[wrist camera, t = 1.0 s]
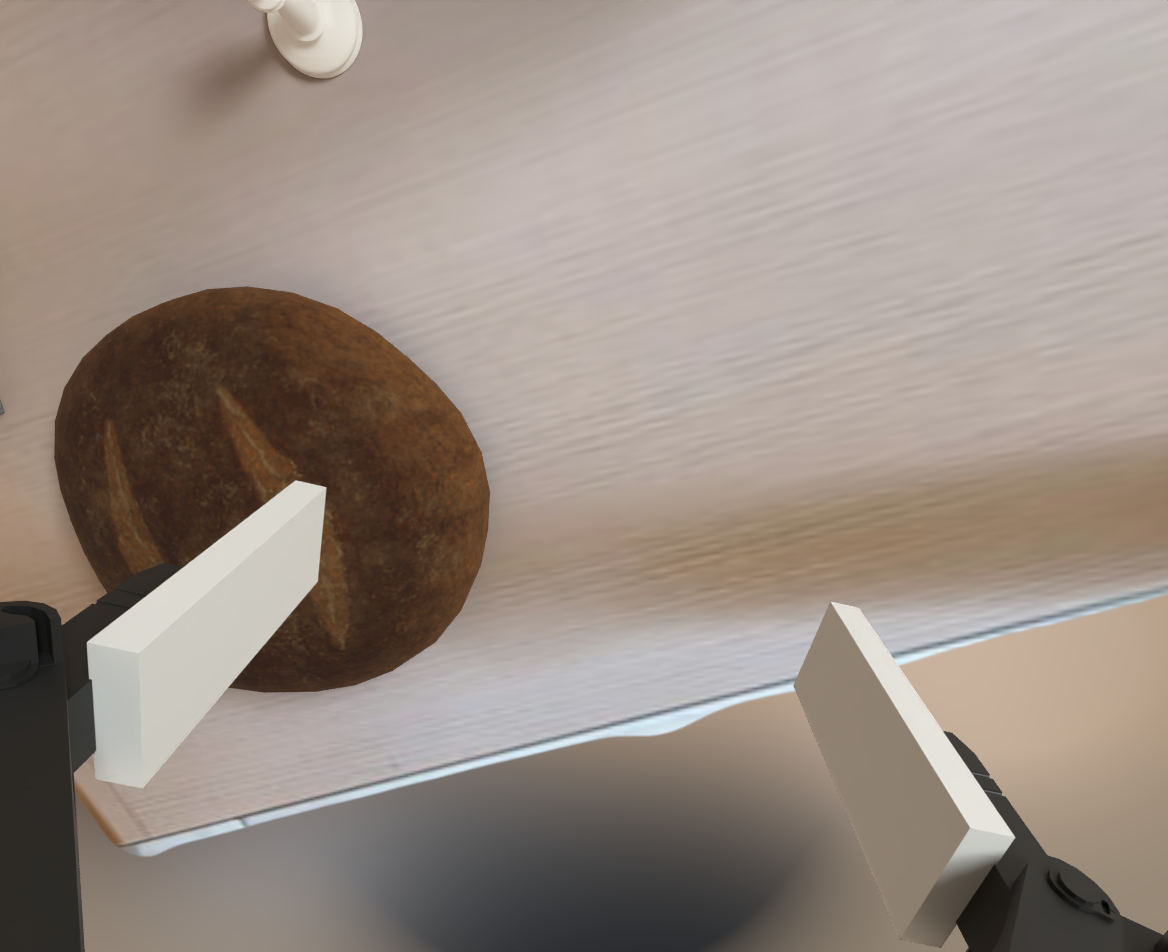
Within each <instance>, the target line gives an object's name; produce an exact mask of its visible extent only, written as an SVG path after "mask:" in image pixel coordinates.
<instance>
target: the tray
mask: <svg viewBox="0 0 1168 952" xmlns="http://www.w3.org/2000/svg"><path fill="white" fill-rule="evenodd" d="M2 413H4V410H3V407H2V404H1V401H0V414H2Z"/></svg>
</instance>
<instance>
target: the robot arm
mask: <svg viewBox="0 0 1168 952" xmlns="http://www.w3.org/2000/svg"><path fill="white" fill-rule="evenodd" d="M325 497H326V487H323V486H318V485H314V484H310V483H305V482H301V481H294V482H293V483H292V484H290V485H289V486H288V487H286V488H285V489H284V490H283V491H281V492H280V493H279V494H277V495H276V496H275V497H274V498H272V499H271V500H270V501H268V502H267V503H266V504H265V505H263V506H262V507H261V508H259V509H258V510H257V511H255V512H254V513H253V514H252V515H250V516H249V517H248V518H246V519H245V520H244V521H243V522H241V523H240V524H239V525H237V526H236V527H235V528H234V529H232V530H231V531H230V532H228V533H227V534H226V535H225V536H223V537H222V538H221V539H219V540H218V541H217V542H215V543H214V544H213V545H212V546H210V547H209V548H208V549H206V550H205V551H204V552H203V553H201V554H200V555H199V556H197V557H196V558H195V559H194V560H192V561H191V562H190V563H188V564H187V565H186V566H185V567H180V566H176V565H171V564H166V563H162V564H160V565H157V566H154V567H151V568H149V569H146V570H143V571H141V572H138V573H135V574H134V575H133V576H131V577H130V578H128V579H127V580H125V581H124V582H123V583H121V584H120V585H118V586H117V587H116V588H114V591H113V592H111V591H110V592H109V593H107V594H106V595H104V596H103V597H101V598H100V599H99V600H97V603H96V604H92V605H90V606H89V607H87V608H86V609H85V610H83V611H82V612H80V613H79V614H78V615H76V616H75V617H73V618H72V619H70V620H69V621H68V622H66V623H65V624H63V625H62V626H61V617H60V616H59V614H58V612H57V610H56V609H54V608H52V607H50V606H48V605H46V604H44V603H38V602H30V601H12V602H0V952H85V949H84V935H83V934H84V933H83V917H82V900H81V885H80V868H79V852H78V836H77V819H76V803H75V787H74V774H73V773H74V772H75V771H76V770H77V769H78V768H79V767H80V766H81V765H82V764H83V763H84V762H85V761H86V760H87V759H88V758H89V757H90V756H91V755H92V754H93V753H94V764H95V779H97V780H102V781H107V782H112V783H117V784H122V785H127V786H132V787H137V788H142V789H143V788H144V787H145V785H146V784H147V783H148V782H149V781H150V779H151V778H152V777H153V776H154V775H155V773H156V772H157V771H158V770H159V769H160V768H161V766H162V765H163V764H164V763H165V762H166V760H167V759H168V758H169V757H170V756H171V755H172V753H173V752H174V751H175V750H176V749H177V747H178V746H179V745H180V744H181V743H182V742H183V740H184V739H185V738H186V737H187V736H188V734H189V733H190V732H191V731H192V730H193V729H194V727H195V726H196V725H197V724H198V723H199V721H200V720H201V719H202V718H203V717H204V716H205V714H206V713H207V712H208V711H209V710H210V708H211V707H212V706H213V705H214V704H215V702H216V701H217V700H218V699H219V698H220V697H221V695H222V694H223V693H224V692H225V691H226V689H227V688H228V687H229V686H230V685H231V684H232V682H233V681H234V680H235V679H236V678H237V676H238V675H239V674H240V673H241V672H242V671H243V669H244V668H245V667H246V666H247V665H248V663H249V662H250V661H251V660H252V659H253V658H254V656H255V655H256V654H257V653H258V652H259V650H260V649H261V648H262V647H263V646H264V644H265V643H266V642H267V641H268V640H269V639H270V637H271V636H272V635H273V634H274V633H275V631H276V630H277V629H278V628H279V627H280V626H281V624H282V623H283V622H284V621H285V620H286V618H287V617H288V616H289V615H290V614H291V613H292V611H293V610H294V609H295V608H296V607H297V605H298V604H299V603H300V602H301V601H302V600H303V598H304V597H305V596H306V595H307V594H308V592H309V591H310V590H311V589H312V588H313V586H314V585H315V584H316V583H317V582H318V573H319V562H320V552H321V541H322V530H323V519H324V508H325ZM794 688H795V690H796V693H797V695H798V697H799V700H800V702H801V705H802V707H803V709H804V712H805V714H806V717H807V719H808V722H809V724H810V726H811V729H812V731H813V733H814V736H815V738H816V741H817V743H818V745H819V748H820V750H821V753H822V755H823V757H824V760H825V762H826V765H827V767H828V769H829V772H830V774H831V776H832V779H833V781H834V784H835V786H836V788H837V791H838V793H839V796H840V798H841V800H842V803H843V805H844V808H845V810H846V812H847V815H848V817H849V819H850V822H851V824H852V827H853V829H854V832H855V834H856V836H857V839H858V841H859V843H860V846H861V848H862V851H863V853H864V855H865V858H866V860H867V863H868V865H869V867H870V870H871V872H872V874H873V877H874V879H875V882H876V884H877V887H878V889H879V891H880V894H881V896H882V899H883V901H884V903H885V905H886V908H887V910H888V913H889V915H890V918H891V920H892V923H893V925H894V927H895V930H896V932H897V934H898V937H899V939H900V940H904V941H909V942H914V943H919V944H924V945H929V946H934V947H939V948H941V947H942V946H943V944H944V942H945V941H946V940H947V938H948V937H949V935H950V934H951V932H952V931H953V929H954V928H955V926H956V925H958V927H959V929H960V931H961V933H962V935H963V937H964V939H965V941H966V943H967V945H968V946H969V948H968V949H967V951H966V952H1168V931H1167V932H1166V933H1165V934H1164V935H1162V934H1160V933H1157V932H1155V931H1153V930H1151V929H1149V928H1146V927H1144V926H1142V925H1140V924H1138V923H1136V922H1134V921H1131V920H1129V919H1127V918H1125V917H1123V916H1121V915H1120V913H1119V911H1118V910H1117V908H1116V907H1115V905H1114V904H1113V902H1112V901H1111V899H1110V898H1109V897H1108V895H1107V894H1106V893H1105V892H1103V890H1102V889H1101V888H1100V887H1099V886H1098V885H1097V884H1096V883H1095V882H1094V881H1092V880H1091V879H1090V878H1089V877H1087V876H1086V875H1085V874H1083V873H1082V872H1081V871H1079V870H1078V869H1077V868H1075V867H1073V866H1071V865H1069V864H1067V863H1066V862H1064V861H1062V860H1060V859H1057V858H1054V857H1051V856H1047V854H1046V853H1045V852H1044V850H1043V849H1042V847H1041V846H1040V845H1039V843H1038V842H1037V840H1036V839H1035V837H1034V836H1033V835H1032V833H1031V832H1030V830H1029V829H1028V828H1027V826H1026V825H1025V824H1024V822H1023V821H1022V819H1021V818H1020V816H1019V815H1018V814H1017V812H1016V811H1015V810H1014V808H1013V807H1012V805H1011V804H1010V802H1009V801H1008V800H1007V798H1006V797H1004V796H1002V791H1001V790H1000V789H999V787H998V786H997V785H996V783H995V781H994V780H993V779H990V778H989V775H990V774H989V773H988V772H987V771H986V769H985V767H984V766H983V765H982V763H981V762H980V761H979V759H978V758H977V756H976V755H975V754H974V753H973V752H972V751H971V750H970V749H969V748H968V747H967V746H966V745H965V744H964V743H963V742H961V741H960V740H959V739H958V738H957V737H956V736H955V735H954V734H953V733H950V732H946V731H942V729H941V728H940V726H939V725H938V723H937V722H936V720H935V719H934V718H933V716H932V715H931V713H930V712H929V710H928V709H927V707H926V706H925V704H924V703H923V701H922V700H921V698H920V697H919V696H918V694H917V693H916V691H915V690H914V689H913V687H912V685H911V684H910V683H909V681H908V680H907V678H906V677H905V675H904V674H903V672H902V671H901V669H900V668H899V666H898V665H897V663H896V662H895V660H894V659H893V657H892V656H891V655H890V653H889V652H888V650H887V649H886V647H885V646H884V644H883V643H882V641H881V640H880V638H879V637H878V636H877V634H876V633H875V631H874V630H873V628H872V627H871V625H870V624H869V622H868V621H867V619H866V618H865V616H864V615H863V614H862V612H861V611H860V609H859V608H857V607H852V606H848V605H843V604H839V603H835V602H830V604H829V606H828V609H827V611H826V613H825V615H824V618H823V620H822V622H821V624H820V627H819V629H818V631H817V633H816V636H815V638H814V640H813V643H812V645H811V647H810V649H809V652H808V654H807V656H806V658H805V661H804V663H803V665H802V668H801V670H800V672H799V674H798V677H797V679H796V681H795V683H794Z"/></svg>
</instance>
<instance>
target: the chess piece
mask: <svg viewBox="0 0 1168 952" xmlns="http://www.w3.org/2000/svg"><path fill="white" fill-rule="evenodd" d="M247 1H248V2H249V3H250V4H251V5H252V6H253V7H254V8H255V9H257V10H258V11H261V12H264V13H267V20H268V26H269V30H270V33H271V36H272V39H273V41H274V43H275V45H276V47H277V48H278V50H279V51H280V53H281V54H282V55H283V57H284V58H285V59H286V60H287V61H288V62H289V63H290V64H291V65H292V66H293V67H295V68H296V69H297V70H299V71H300V72H302V73H304V74H306V75H308V76H311V77H315V78H331V77H335V76H337V75H340V74H341V73H343V72H344V71H346V70H347V69H348V68H349V67H350V66H351V65H352V64H353V62H354V61H355V59H356V57H357V55H358V53H359V50H360V47H361V43H362V20H361V16H360V12H359V9H358V6H357V4H356V2H355V0H247Z"/></svg>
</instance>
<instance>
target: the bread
mask: <svg viewBox="0 0 1168 952" xmlns="http://www.w3.org/2000/svg"><path fill="white" fill-rule="evenodd" d="M54 458H55V464H56V469H57V474H58V479H59V484H60V489H61V493H62V496H63V499H64V502H65V505H66V508H67V510H68V513H69V516H70V519H71V522H72V524H73V527H74V529H75V532H76V534H77V536H78V539H79V541H80V544H81V546H82V548H83V551H84V553H85V555H86V556H87V558H88V560H89V562H90V564H91V566H92V568H93V569H94V571H95V573H96V575H97V577H98V579H99V580H100V582H101V583H102V585H103V586H104V588H105V589H106V591H107V592H108V593H109V592H110V591H111V592H113V591H114V588H116V587H117V586H118V585H120V584H121V583H123V582H124V581H125V580H127V579H128V578H130V577H131V576H133V575H134V574H135V573H138V572H141V571H143V570H146V569H149V568H151V567H154V566H157V565H160V564H162V563H166V564H171V565H176V566H180V567H185V566H186V565H187V564H188V563H190V562H191V561H192V560H194V559H195V558H196V557H197V556H199V555H200V554H201V553H203V552H204V551H205V550H206V549H208V548H209V547H210V546H212V545H213V544H214V543H215V542H217V541H218V540H219V539H221V538H222V537H223V536H225V535H226V534H227V533H228V532H230V531H231V530H232V529H234V528H235V527H236V526H237V525H239V524H240V523H241V522H243V521H244V520H245V519H246V518H248V517H249V516H250V515H252V514H253V513H254V512H255V511H257V510H258V509H259V508H261V507H262V506H263V505H265V504H266V503H267V502H268V501H270V500H271V499H272V498H274V497H275V496H276V495H277V494H279V493H280V492H281V491H283V490H284V489H285V488H286V487H288V486H289V485H290V484H292V483H293V482H294V481H301V482H305V483H310V484H314V485H318V486H323V487H326V497H325V508H324V519H323V530H322V541H321V552H320V562H319V573H318V582H317V583H316V584H315V585H314V586H313V588H312V589H311V590H310V591H309V592H308V594H307V595H306V596H305V597H304V598H303V600H302V601H301V602H300V603H299V604H298V605H297V607H296V608H295V609H294V610H293V611H292V613H291V614H290V615H289V616H288V617H287V618H286V620H285V621H284V622H283V623H282V624H281V626H280V627H279V628H278V629H277V630H276V631H275V633H274V634H273V635H272V636H271V637H270V639H269V640H268V641H267V642H266V643H265V644H264V646H263V647H262V648H261V649H260V650H259V652H258V653H257V654H256V655H255V656H254V658H253V659H252V660H251V661H250V662H249V663H248V665H247V666H246V667H245V668H244V669H243V671H242V672H241V673H240V674H239V675H238V676H237V678H236V679H235V680H234V681H233V682H232V684H231V685H230V686H229V687H228V688H236V689H243V690H250V691H258V692H316V691H323V690H329V689H335V688H341V687H347V686H353V685H357V684H359V683H362V682H364V681H367V680H370V679H372V678H375V677H378V676H380V675H383V674H385V673H388V672H391V671H393V670H394V669H396V668H397V667H399V666H400V665H402V664H403V663H405V662H406V661H408V660H409V659H411V658H412V657H414V656H415V655H417V654H418V653H420V652H421V651H423V650H424V649H426V648H427V647H429V646H430V645H432V644H433V643H435V642H436V641H437V640H438V638H439V637H440V636H441V635H442V633H443V632H444V631H445V630H446V628H447V627H448V626H449V625H450V623H451V622H452V621H453V620H454V618H455V617H456V616H457V615H458V613H459V612H460V611H461V609H462V607H463V605H464V603H465V601H466V598H467V596H468V594H469V591H470V589H471V587H472V584H473V582H474V580H475V578H476V575H477V573H478V571H479V568H480V566H481V562H482V557H483V552H484V547H485V542H486V537H487V532H488V518H489V499H490V490H489V486H488V481H487V476H486V472H485V467H484V462H483V457H482V453H481V451H480V449H479V447H478V445H477V443H476V441H475V439H474V437H473V435H472V433H471V431H470V429H469V427H468V425H467V424H466V422H465V420H464V418H463V416H462V414H461V412H460V411H459V410H458V409H457V408H456V407H455V405H454V404H453V403H452V402H451V401H450V399H449V398H448V397H447V396H446V395H445V394H444V392H443V391H442V390H441V389H440V388H439V387H438V385H437V384H436V383H435V382H434V381H433V380H431V379H430V378H429V377H428V376H427V375H426V374H425V373H424V372H423V371H422V370H421V369H420V368H419V367H418V366H417V365H416V364H414V363H413V362H412V361H411V360H410V359H409V358H408V357H407V356H405V355H404V354H403V353H402V352H400V351H399V350H398V349H397V348H396V347H394V346H393V345H392V344H391V343H389V342H388V341H387V340H386V339H385V338H383V337H382V336H381V335H380V334H378V333H377V332H376V331H374V330H372V329H371V328H369V327H367V326H366V325H364V324H362V323H361V322H359V321H357V320H356V319H354V318H352V317H351V316H349V315H347V314H346V313H344V312H342V311H341V310H339V309H337V308H334V307H332V306H329V305H326V304H323V303H320V302H317V301H315V300H312V299H309V298H306V297H303V296H300V295H298V294H295V293H291V292H284V291H276V290H269V289H261V288H254V287H235V288H220V289H207V290H203V291H200V292H197V293H193V294H190V295H186V296H183V297H179V298H176V299H173V300H170V301H167V302H165V303H162V304H160V305H157V306H155V307H153V308H151V309H148V310H146V311H144V312H142V313H139V314H137V315H135V316H133V317H131V318H130V319H128V320H127V321H125V322H124V323H123V324H121V325H120V326H119V327H117V328H116V329H114V330H113V331H112V332H110V333H109V334H107V335H106V336H105V337H104V338H103V339H102V340H101V341H100V342H99V343H98V344H97V345H96V346H95V347H94V348H93V349H92V350H91V351H90V352H89V353H87V354H86V355H85V356H84V357H83V358H82V360H81V362H80V363H79V365H78V366H77V368H76V370H75V371H74V373H73V375H72V376H71V378H70V379H69V381H68V383H67V384H66V386H65V388H64V391H63V395H62V398H61V402H60V405H59V409H58V413H57V416H56V420H55V455H54Z"/></svg>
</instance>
